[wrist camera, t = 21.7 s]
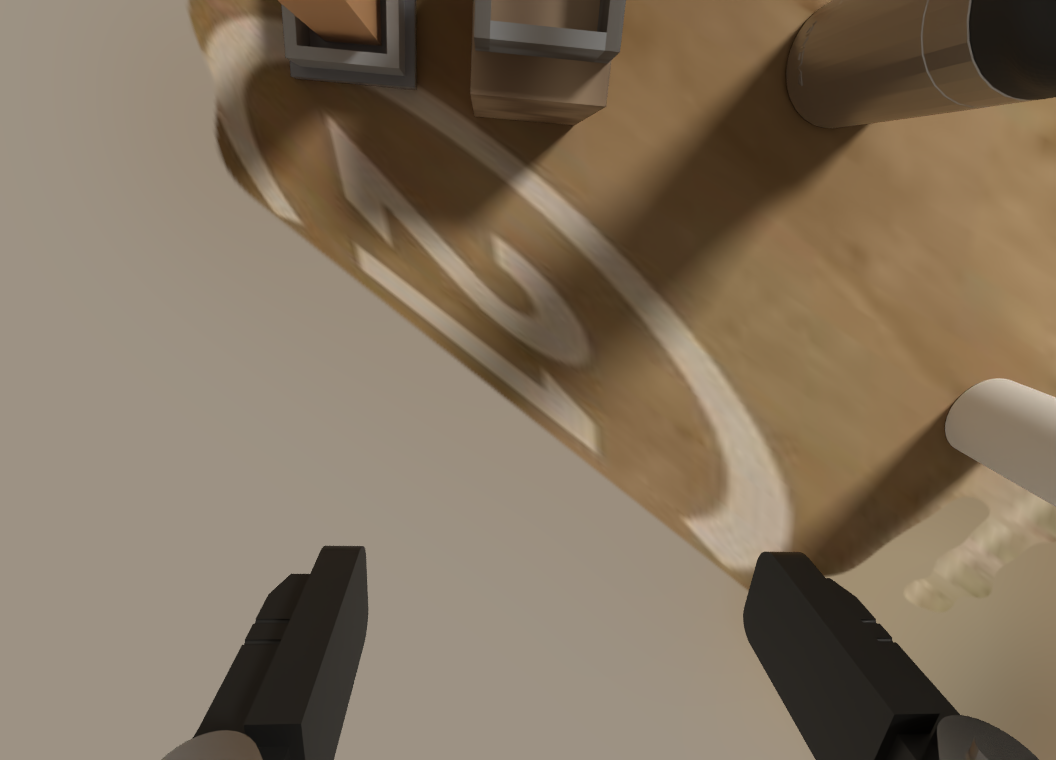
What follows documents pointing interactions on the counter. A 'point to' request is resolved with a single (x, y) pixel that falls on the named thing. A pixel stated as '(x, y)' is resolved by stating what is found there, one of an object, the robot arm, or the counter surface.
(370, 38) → the plug
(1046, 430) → the container
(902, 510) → the counter surface
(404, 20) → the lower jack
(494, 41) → the square socket base
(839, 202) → the counter surface
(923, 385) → the counter surface
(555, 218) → the counter surface
